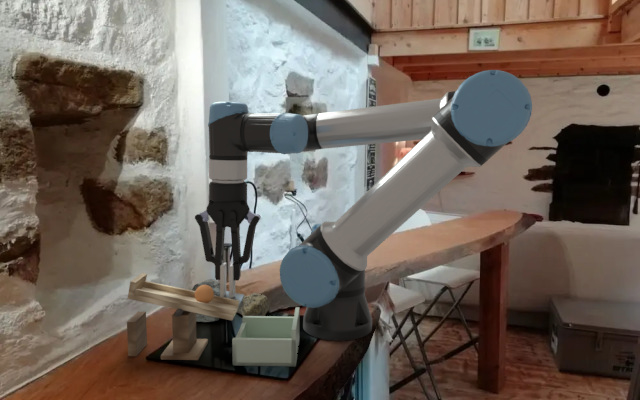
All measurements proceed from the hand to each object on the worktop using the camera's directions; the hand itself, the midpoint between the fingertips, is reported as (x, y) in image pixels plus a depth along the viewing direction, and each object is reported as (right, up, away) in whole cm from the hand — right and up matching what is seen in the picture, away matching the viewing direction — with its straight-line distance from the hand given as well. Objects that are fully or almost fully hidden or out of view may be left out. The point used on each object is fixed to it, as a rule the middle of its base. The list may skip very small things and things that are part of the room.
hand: (227, 294), depth 103 cm
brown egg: (-3, +1, -7) cm, 8 cm away
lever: (-7, -1, -3) cm, 8 cm away
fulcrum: (-11, -10, -5) cm, 15 cm away
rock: (+3, -8, +16) cm, 18 cm away
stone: (-7, -8, +13) cm, 17 cm away
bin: (+9, -10, -5) cm, 14 cm away
